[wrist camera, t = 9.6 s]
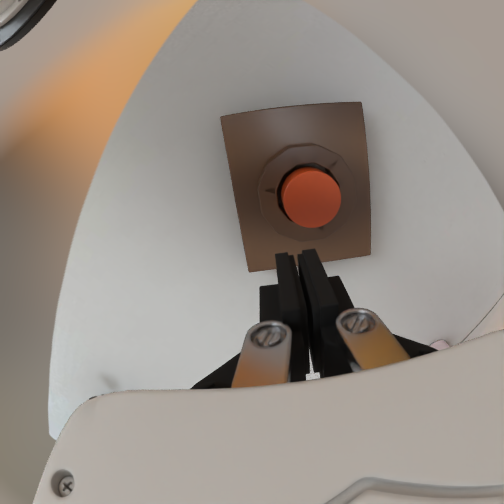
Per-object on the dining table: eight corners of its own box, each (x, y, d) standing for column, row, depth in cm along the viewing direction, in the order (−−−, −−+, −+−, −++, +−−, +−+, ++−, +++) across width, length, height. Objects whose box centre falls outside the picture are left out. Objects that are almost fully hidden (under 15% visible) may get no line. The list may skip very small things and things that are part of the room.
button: (277, 170, 18) (279, 174, 16) (331, 164, 17) (339, 167, 16) (284, 222, 19) (287, 231, 18) (335, 215, 19) (342, 224, 17)
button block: (223, 117, 20) (216, 115, 16) (352, 103, 19) (371, 99, 15) (249, 260, 24) (248, 285, 21) (362, 244, 24) (378, 265, 20)
